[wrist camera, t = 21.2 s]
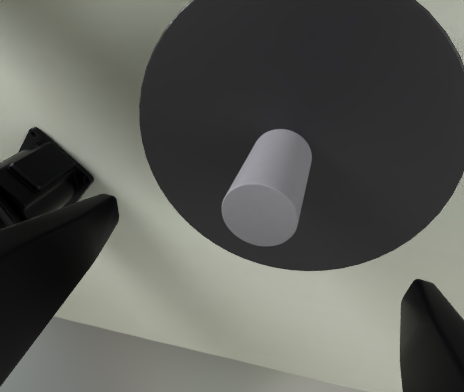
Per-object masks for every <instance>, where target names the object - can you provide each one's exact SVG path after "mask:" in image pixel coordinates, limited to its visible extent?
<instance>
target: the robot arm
mask: <svg viewBox="0 0 464 392" xmlns="http://www.w3.org/2000/svg"><path fill="white" fill-rule="evenodd" d="M93 181H94V178H93V176H92V175H91V174H90V173H89V172H87V171H86V170H85V169H84V168H83V167H82V166H81V165H80V164H78V163H77V162H76V161H75V160H74V159H73V158H72V157H70V156H69V155H68V154H67V153H66V152H65V151H64V150H63V149H61V148H60V147H59V146H58V145H57V144H56V143H55V142H54V141H52V140H51V139H50V138H49V137H48V136H47V135H46V134H44V133H43V132H42V131H41V130H40V129H39V128H37V127H34V128H32V129H30V130H29V132H28V134H27V136H26V138H25V140H24V142H23V144H22V146H21V148H20V150H19V153H17V154H15V155H13V156H12V157H10V158H8V159H6V160H4V161H2V162H0V386H1V385H2V384H3V382H4V381H5V380H6V378H7V377H8V376H9V374H10V373H11V372H12V370H13V369H14V368H15V366H16V365H17V364H18V363H19V361H20V360H21V359H22V357H23V356H24V355H25V353H26V352H27V351H28V349H29V348H30V347H31V345H32V344H33V342H34V341H35V340H36V339H37V337H38V336H39V335H40V333H41V332H42V331H43V329H44V328H45V327H46V325H47V324H48V323H49V321H50V320H51V319H52V317H53V316H54V315H55V313H56V312H57V311H58V309H59V308H60V307H61V305H62V304H63V303H64V301H65V300H66V299H67V297H68V296H69V295H70V293H71V292H72V291H73V290H74V288H75V287H76V286H77V284H78V283H79V282H80V280H81V279H82V278H83V276H84V275H85V274H86V272H87V271H88V270H89V268H90V267H91V266H92V264H93V263H94V261H95V260H96V258H97V257H98V255H99V253H100V252H101V250H102V248H103V247H104V245H105V243H106V242H107V240H108V238H109V237H110V235H111V233H112V232H113V230H114V228H115V227H116V225H117V223H118V221H119V212H118V205H117V200H116V198H115V197H114V196H112V195H108V194H99V195H97V196H94V197H91V198H88V199H85V200H82V201H80V202H78V200H79V199H80V198H81V197H82V195H83V194H84V193H85V192H86V190H87V189H88V188H89V187H90V185H91V184H92V183H93ZM400 367H401V378H402V388H403V392H464V320H463V318H462V317H461V316H460V315H459V314H458V312H457V311H456V310H455V309H454V308H453V306H452V305H451V304H450V303H449V302H448V300H447V299H446V298H445V297H444V295H443V294H442V293H441V292H440V291H439V289H438V288H437V287H436V286H435V285H434V284H433V283H431V282H428V281H424V280H420V279H416V280H414V281H413V283H412V284H411V286H410V287H409V289H408V290H407V292H406V294H405V295H404V297H403V299H402V302H401V326H400Z"/></svg>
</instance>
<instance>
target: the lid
mask: <svg viewBox="0 0 464 392" xmlns="http://www.w3.org/2000/svg"><path fill="white" fill-rule="evenodd" d="M139 109H140V129H141V136H142V142H143V146H144V150H145V154H146V157H147V160H148V163H149V165H150V168H151V170H152V173H153V175H154V177H155V179H156V181H157V183H158V185H159V186H160V188H161V190H162V191H163V193H164V194H165V196H166V197H167V199H168V200H169V202H170V203H171V204H172V205H173V207H174V208H175V209H176V210H177V212H178V213H179V214H180V215H181V216H182V217H183V218H184V219H185V220H186V221H187V222H188V223H189V224H190V225H191V226H192V227H193V228H195V229H196V230H197V231H198V232H199V233H201V234H202V235H203V236H205V237H206V238H207V239H209V240H210V241H212V242H213V243H215V244H216V245H218V246H220V247H222V248H223V249H225V250H227V251H229V252H231V253H233V254H235V255H238V256H240V257H242V258H244V259H247V260H250V261H253V262H256V263H259V264H263V265H267V266H271V267H275V268H281V269H288V270H299V271H323V270H332V269H340V268H345V267H349V266H354V265H358V264H361V263H364V262H367V261H370V260H373V259H376V258H378V257H380V256H382V255H384V254H387V253H389V252H391V251H393V250H395V249H396V248H398V247H400V246H401V245H403V244H404V243H406V242H407V241H409V240H411V239H412V238H413V237H414V236H416V235H417V234H418V233H419V232H420V231H422V230H423V229H424V228H425V227H426V226H427V225H428V224H429V223H430V222H431V221H432V220H433V219H434V218H435V217H436V216H437V215H438V214H439V213H440V211H441V210H442V209H443V207H444V206H445V205H446V203H447V202H448V200H449V199H450V198H451V196H452V195H453V193H454V191H455V189H456V187H457V185H458V183H459V181H460V179H461V177H462V175H463V172H464V66H463V63H462V60H461V57H460V55H459V53H458V52H457V50H456V48H455V47H454V45H453V43H452V41H451V40H450V38H449V36H448V34H447V33H446V31H445V30H444V29H443V28H442V27H441V25H440V24H439V23H438V22H437V21H436V20H435V18H434V17H433V16H432V15H431V14H430V12H429V11H428V10H427V9H425V8H424V7H423V6H422V5H421V4H419V3H418V2H417V1H416V0H192V1H191V2H190V3H189V4H187V5H186V6H185V7H184V8H183V9H182V10H181V11H180V12H179V13H178V14H177V15H176V17H175V18H174V19H173V20H172V22H171V23H170V24H169V26H168V27H167V28H166V29H165V31H164V32H163V34H162V36H161V38H160V39H159V41H158V43H157V44H156V46H155V48H154V50H153V53H152V55H151V57H150V60H149V62H148V65H147V67H146V71H145V75H144V79H143V83H142V87H141V96H140V105H139Z"/></svg>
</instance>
